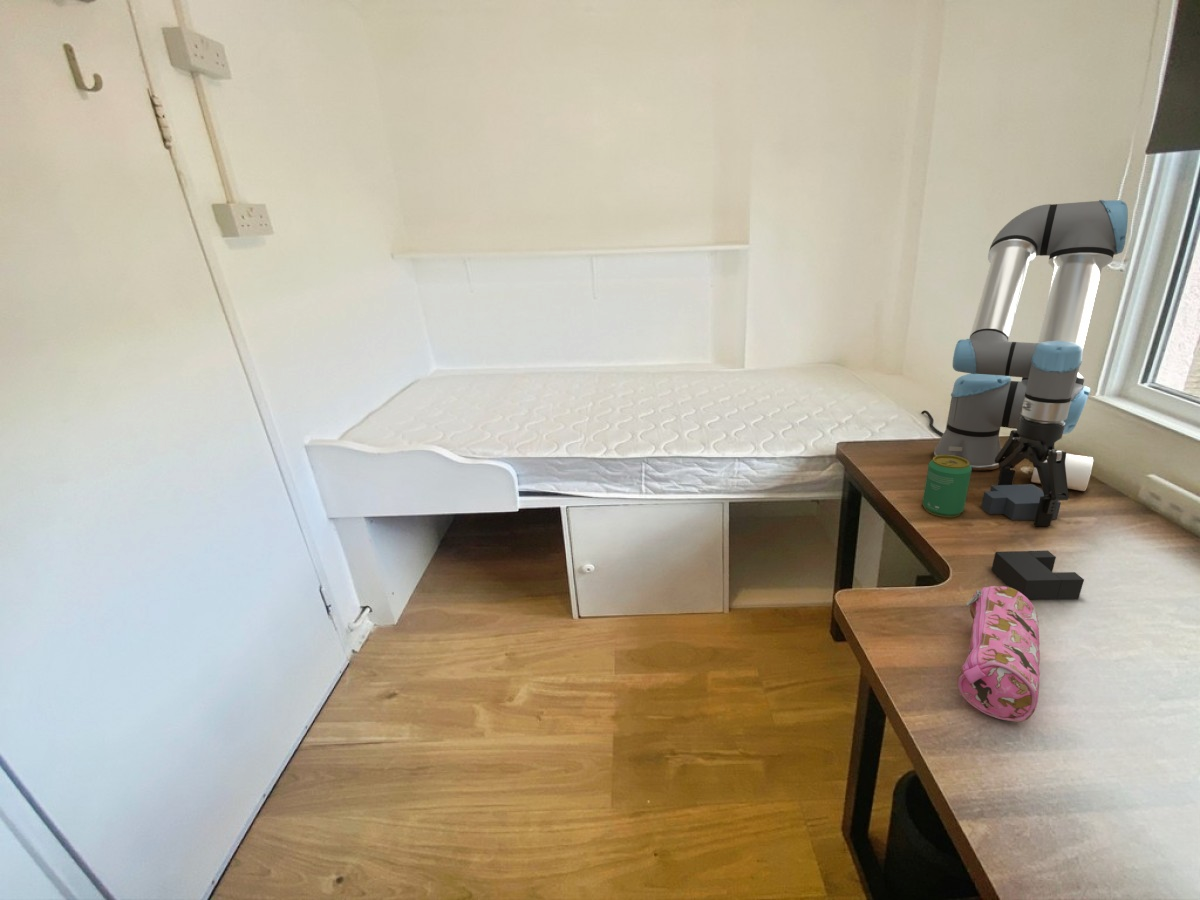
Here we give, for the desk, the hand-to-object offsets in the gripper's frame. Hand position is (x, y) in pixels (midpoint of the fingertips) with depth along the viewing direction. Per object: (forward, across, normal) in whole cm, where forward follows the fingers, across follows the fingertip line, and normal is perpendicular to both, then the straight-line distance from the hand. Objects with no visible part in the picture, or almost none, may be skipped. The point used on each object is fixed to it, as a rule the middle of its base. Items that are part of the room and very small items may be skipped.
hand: (1020, 510), depth 121 cm
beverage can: (0, -1, -16) cm, 16 cm away
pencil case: (+1, +48, -32) cm, 57 cm away
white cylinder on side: (0, -13, +16) cm, 21 cm away
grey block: (0, 0, -1) cm, 1 cm away
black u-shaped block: (0, +27, -14) cm, 30 cm away
